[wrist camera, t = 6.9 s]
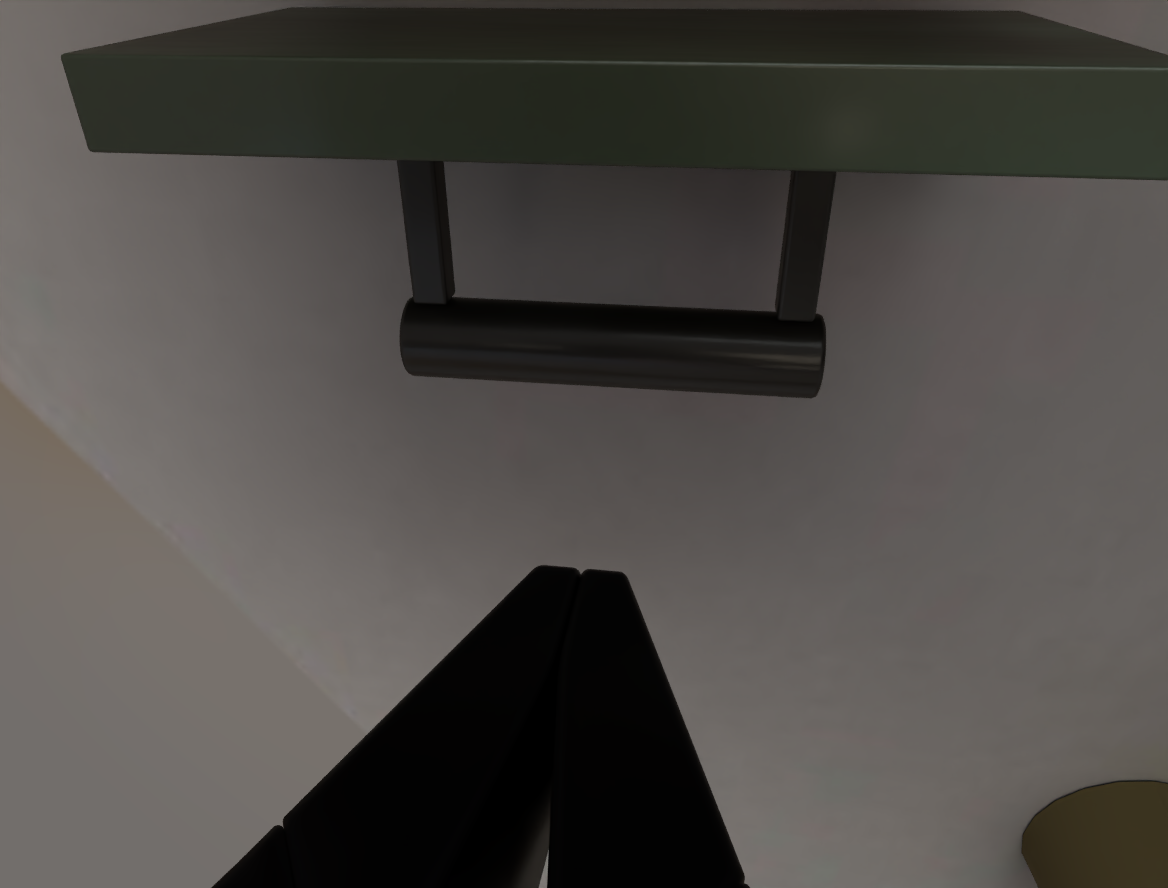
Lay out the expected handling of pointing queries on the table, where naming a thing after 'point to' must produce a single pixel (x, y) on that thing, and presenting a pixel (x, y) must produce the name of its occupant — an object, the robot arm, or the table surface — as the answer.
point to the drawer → (634, 141)
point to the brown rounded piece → (1102, 838)
